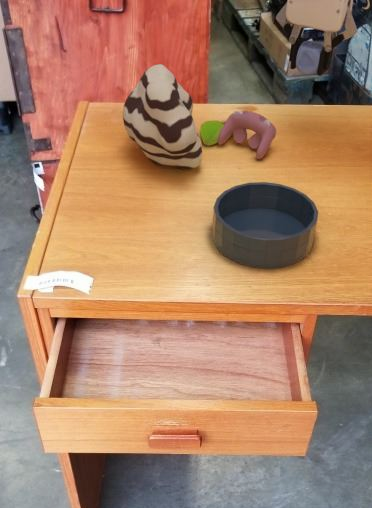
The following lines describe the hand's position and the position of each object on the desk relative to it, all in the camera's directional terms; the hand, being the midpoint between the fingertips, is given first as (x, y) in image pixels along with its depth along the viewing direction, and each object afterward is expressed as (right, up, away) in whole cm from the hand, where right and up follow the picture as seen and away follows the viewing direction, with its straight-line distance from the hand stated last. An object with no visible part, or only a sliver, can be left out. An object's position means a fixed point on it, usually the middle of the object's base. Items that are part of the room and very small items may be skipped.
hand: (308, 68), depth 105 cm
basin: (-10, -33, -14) cm, 38 cm away
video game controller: (-11, -12, +5) cm, 17 cm away
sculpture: (-26, -15, +2) cm, 30 cm away
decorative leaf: (-16, -8, +8) cm, 19 cm away
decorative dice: (0, 0, 0) cm, 0 cm away
